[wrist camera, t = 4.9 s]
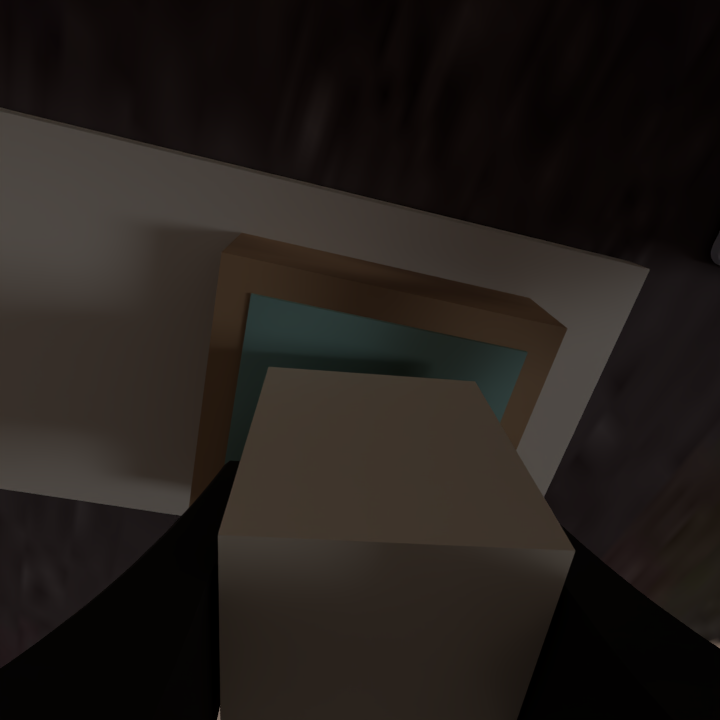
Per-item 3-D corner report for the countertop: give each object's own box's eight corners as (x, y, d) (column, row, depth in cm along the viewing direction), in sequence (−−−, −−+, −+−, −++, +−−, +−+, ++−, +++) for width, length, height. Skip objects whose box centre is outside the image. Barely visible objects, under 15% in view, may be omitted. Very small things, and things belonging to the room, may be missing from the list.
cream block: (475, 381, 11) (575, 550, 6) (442, 540, 13) (501, 763, 8) (268, 366, 11) (217, 534, 6) (263, 532, 12) (221, 760, 8)
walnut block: (529, 297, 14) (569, 329, 12) (445, 519, 17) (462, 581, 15) (241, 232, 13) (220, 252, 11) (206, 481, 16) (183, 541, 14)
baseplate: (630, 261, 15) (650, 269, 14) (503, 544, 19) (511, 565, 18) (-118, 78, 12) (-155, 73, 11) (-73, 454, 16) (-98, 474, 15)
